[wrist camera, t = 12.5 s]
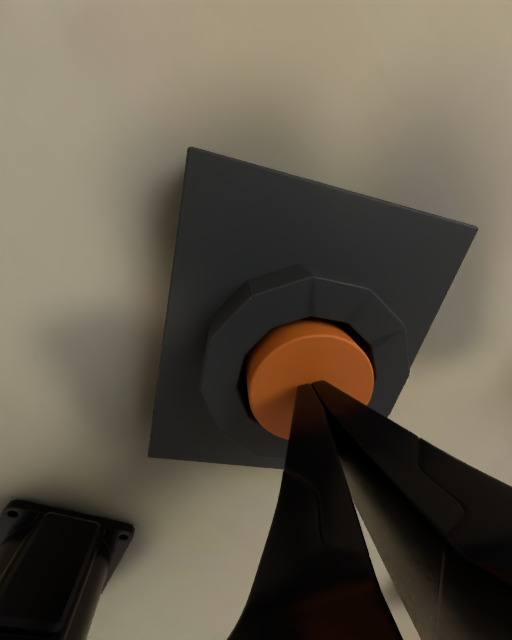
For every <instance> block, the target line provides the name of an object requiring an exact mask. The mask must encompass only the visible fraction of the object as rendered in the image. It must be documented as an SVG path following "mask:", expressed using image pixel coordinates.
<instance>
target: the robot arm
mask: <svg viewBox="0 0 512 640" xmlns="http://www.w3.org/2000/svg"><path fill="white" fill-rule="evenodd" d="M353 502H354V503H353ZM354 504H355V506H356V508H357V510H358V512H359V514H360V516H361V518H362V520H363V522H364V524H365V526H366V528H367V530H368V532H369V534H370V536H371V538H372V540H373V542H374V544H375V546H376V549H377V551H378V553H379V555H380V557H381V559H382V561H383V563H384V565H385V567H386V569H387V571H388V573H389V575H390V577H391V579H392V581H393V583H394V585H395V587H396V589H397V591H398V593H399V595H400V597H401V600H402V602H403V604H404V606H405V608H406V610H407V612H408V614H409V616H410V618H411V620H412V622H413V624H414V626H415V628H416V630H417V632H418V634H419V636H420V638H421V640H512V487H511V486H509V485H507V484H505V483H503V482H501V481H499V480H497V479H495V478H493V477H491V476H489V475H487V474H485V473H483V472H481V471H479V470H477V469H475V468H474V467H472V466H470V465H468V464H466V463H464V462H462V461H460V460H458V459H456V458H455V457H453V456H451V455H449V454H447V453H446V452H444V451H442V450H440V449H439V448H437V447H435V446H433V445H432V444H430V443H428V442H427V441H425V440H423V439H422V438H419V439H418V436H417V435H415V434H413V433H412V432H410V431H408V430H407V429H405V428H403V427H402V426H400V425H398V424H397V423H395V422H393V421H392V420H390V419H388V418H387V417H385V416H383V415H382V414H380V413H378V412H377V411H375V410H373V409H372V408H370V407H368V406H367V405H365V404H363V403H362V402H360V401H358V400H357V399H355V398H353V397H352V396H350V395H348V394H347V393H345V392H343V391H342V390H340V389H338V388H337V387H335V386H333V385H332V384H330V383H328V382H327V381H325V380H320V381H316V382H312V383H311V384H309V383H307V384H303V385H299V386H298V387H297V391H296V397H295V403H294V409H293V416H292V422H291V428H290V434H289V440H288V446H287V453H286V459H285V465H284V471H283V476H282V482H281V488H280V492H279V497H278V502H277V506H276V510H275V513H274V517H273V521H272V524H271V528H270V531H269V534H268V537H267V541H266V544H265V547H264V550H263V554H262V557H261V560H260V563H259V566H258V570H257V573H256V576H255V579H254V583H253V586H252V589H251V592H250V594H249V597H248V600H247V602H246V605H245V607H244V610H243V612H242V614H241V616H240V618H239V620H238V622H237V624H236V626H235V627H234V629H233V631H232V632H231V634H230V635H229V637H228V638H227V640H403V638H402V636H401V634H400V632H399V629H398V627H397V625H396V623H395V621H394V618H393V616H392V614H391V612H390V609H389V607H388V605H387V603H386V601H385V598H384V596H383V594H382V591H381V589H380V586H379V583H378V580H377V578H376V575H375V572H374V569H373V565H372V562H371V559H370V557H369V552H368V549H367V546H366V542H365V539H364V536H363V533H362V529H361V526H360V523H359V520H358V516H357V513H356V510H355V506H354ZM134 531H135V528H134V527H133V526H132V525H130V524H127V523H122V522H118V521H113V520H109V519H104V518H100V517H95V516H91V515H86V514H82V513H77V512H73V511H68V510H64V509H59V508H55V507H50V506H46V505H41V504H37V503H32V502H28V501H23V500H12V501H10V502H9V503H8V504H7V506H6V507H5V508H4V510H3V511H2V513H1V516H0V640H86V638H87V635H88V632H89V629H90V626H91V623H92V619H93V616H94V613H95V610H96V607H97V604H98V601H99V598H100V595H101V593H102V592H103V590H104V588H105V586H106V585H107V583H108V581H109V579H110V577H111V576H112V574H113V572H114V570H115V569H116V567H117V565H118V563H119V562H120V560H121V558H122V556H123V555H124V553H125V551H126V549H127V548H128V546H129V544H130V542H131V541H132V538H133V535H134Z"/></svg>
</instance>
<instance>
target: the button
mask: <svg viewBox="0 0 512 640" xmlns="http://www.w3.org/2000/svg"><path fill="white" fill-rule="evenodd" d="M245 372H246V380H247V389H248V397H249V404H250V408H251V411H252V413H253V415H254V417H255V418H256V419H257V421H258V422H259V423H260V424H261V425H262V426H263V427H264V428H265V429H266V430H267V431H269V432H270V433H272V434H274V435H276V436H278V437H281V438H284V439H287V440H289V434H290V428H291V422H292V416H293V409H294V403H295V397H296V391H297V387H298V386H299V385H303V384H307V383H309V384H311V383H312V382H316V381H320V380H325V381H327V382H328V383H330V384H332V385H333V386H335V387H337V388H338V389H340V390H342V391H343V392H345V393H347V394H348V395H350V396H352V397H353V398H355V399H357V400H358V401H360V402H362V403H363V404H365V405H367V404H368V403H369V401H370V398H371V395H372V392H373V387H374V374H373V369H372V365H371V363H370V360H369V359H368V357H367V355H366V354H365V353H364V351H363V350H362V349H361V348H360V347H359V346H358V345H357V344H356V343H355V342H354V341H353V339H352V338H351V337H350V336H349V335H348V334H347V333H346V332H345V331H344V330H343V329H342V328H341V327H340V326H339V325H338V324H337V323H335V322H333V321H332V320H329V319H323V318H318V317H313V316H309V317H306V318H303V319H300V320H296V321H293V322H290V323H287V324H284V325H281V326H277V327H274V328H271V329H270V330H269V331H268V332H267V333H266V334H265V335H264V336H263V337H262V338H261V339H260V340H259V341H258V342H257V343H256V344H255V345H254V346H253V347H252V348H251V349H250V350H249V351H248V354H247V357H246V363H245Z"/></svg>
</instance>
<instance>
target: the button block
mask: <svg viewBox="0 0 512 640" xmlns="http://www.w3.org/2000/svg"><path fill="white" fill-rule="evenodd" d="M477 231H478V228H477V227H476V226H473V225H469V224H466V223H462V222H459V221H455V220H451V219H448V218H444V217H441V216H437V215H434V214H430V213H427V212H423V211H419V210H416V209H412V208H409V207H405V206H402V205H398V204H394V203H391V202H387V201H384V200H380V199H377V198H373V197H370V196H366V195H362V194H359V193H355V192H352V191H348V190H345V189H341V188H338V187H334V186H330V185H327V184H323V183H320V182H316V181H313V180H309V179H305V178H302V177H298V176H295V175H291V174H288V173H284V172H281V171H277V170H273V169H270V168H266V167H263V166H259V165H256V164H252V163H248V162H245V161H241V160H238V159H234V158H231V157H227V156H224V155H220V154H216V153H213V152H209V151H206V150H202V149H199V148H195V147H189V148H188V150H187V158H186V166H185V173H184V181H183V189H182V196H181V204H180V212H179V219H178V227H177V235H176V242H175V250H174V258H173V266H172V273H171V281H170V289H169V296H168V304H167V312H166V319H165V327H164V335H163V342H162V350H161V358H160V365H159V373H158V381H157V388H156V396H155V404H154V411H153V419H152V427H151V434H150V442H149V450H148V457H152V458H163V459H174V460H185V461H197V462H208V463H219V464H230V465H241V466H253V467H264V468H275V469H284V465H285V459H286V453H287V446H288V440H287V439H284V438H281V437H278V436H276V435H274V434H272V433H270V432H269V431H267V430H266V429H265V428H264V427H263V426H262V425H261V424H260V423H259V422H258V421H257V419H256V418H255V417H254V415H253V413H252V411H251V408H250V404H249V397H248V389H247V380H246V372H245V363H246V357H247V354H248V351H249V350H250V349H251V348H252V347H253V346H254V345H255V344H256V343H257V342H258V341H259V340H260V339H261V338H262V337H263V336H264V335H265V334H266V333H267V332H268V331H269V330H270V329H271V328H274V327H277V326H281V325H284V324H287V323H290V322H293V321H296V320H300V319H303V318H306V317H309V316H313V317H318V318H323V319H329V320H332V321H333V322H335V323H337V324H338V325H339V326H340V327H341V328H342V329H343V330H344V331H345V332H346V333H347V334H348V335H349V336H350V337H351V338H352V339H353V341H354V342H355V343H356V344H357V345H358V346H359V347H360V348H361V349H362V350H363V351H364V353H365V354H366V355H367V357H368V359H369V360H370V363H371V365H372V369H373V374H374V387H373V392H372V395H371V398H370V401H369V403H368V404H367V406H368V407H370V408H372V409H373V410H375V411H377V412H378V413H380V414H382V415H383V416H385V417H388V415H390V413H391V411H392V409H393V407H394V405H395V403H396V401H397V398H398V396H399V394H400V392H401V390H402V388H403V386H404V384H405V382H406V380H407V378H408V376H409V373H410V367H411V365H412V363H413V361H414V359H415V357H416V355H417V353H418V351H419V349H420V347H421V345H422V343H423V341H424V339H425V337H426V335H427V333H428V331H429V329H430V326H431V324H432V322H433V320H434V318H435V316H436V314H437V312H438V310H439V308H440V306H441V304H442V302H443V300H444V298H445V296H446V294H447V292H448V290H449V288H450V286H451V284H452V282H453V280H454V278H455V276H456V273H457V271H458V269H459V267H460V265H461V263H462V261H463V259H464V257H465V255H466V253H467V251H468V249H469V247H470V245H471V243H472V241H473V239H474V237H475V235H476V233H477Z"/></svg>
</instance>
